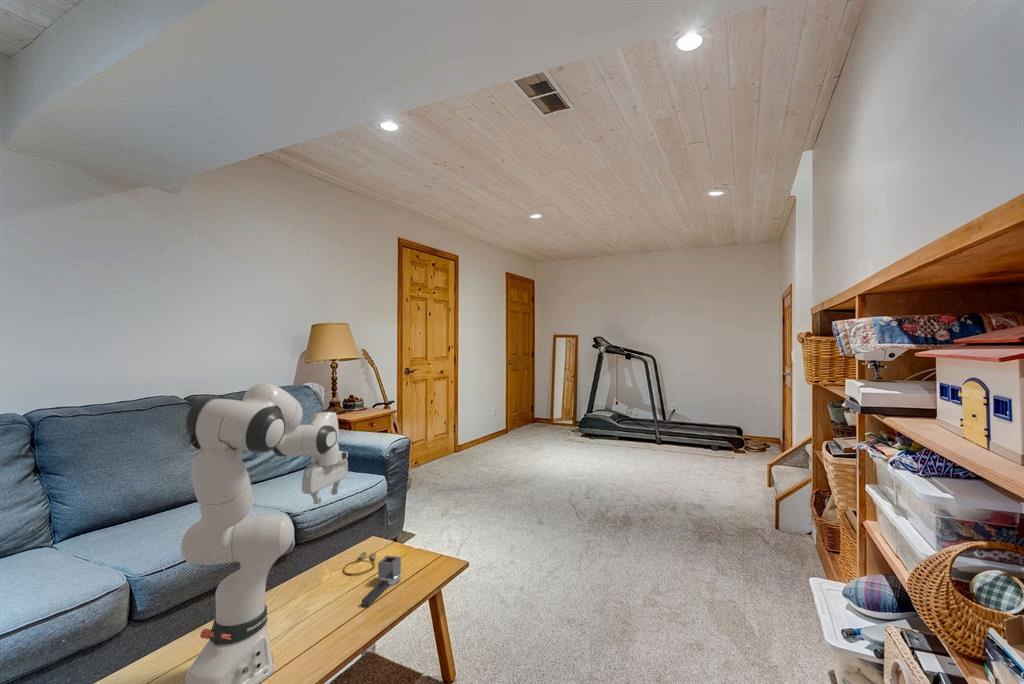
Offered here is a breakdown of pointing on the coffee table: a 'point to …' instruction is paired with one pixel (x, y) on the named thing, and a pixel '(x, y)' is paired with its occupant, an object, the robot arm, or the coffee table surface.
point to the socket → (389, 567)
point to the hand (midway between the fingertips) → (326, 498)
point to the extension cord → (362, 560)
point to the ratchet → (379, 590)
